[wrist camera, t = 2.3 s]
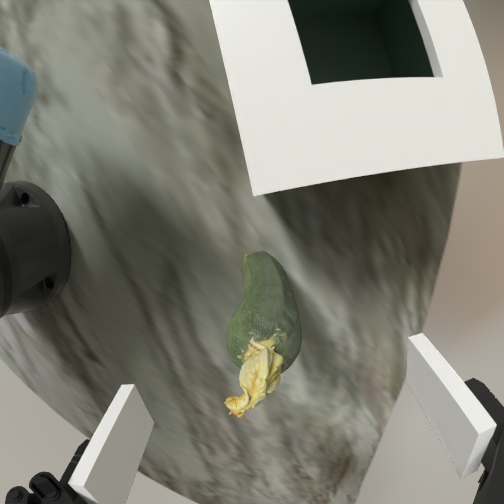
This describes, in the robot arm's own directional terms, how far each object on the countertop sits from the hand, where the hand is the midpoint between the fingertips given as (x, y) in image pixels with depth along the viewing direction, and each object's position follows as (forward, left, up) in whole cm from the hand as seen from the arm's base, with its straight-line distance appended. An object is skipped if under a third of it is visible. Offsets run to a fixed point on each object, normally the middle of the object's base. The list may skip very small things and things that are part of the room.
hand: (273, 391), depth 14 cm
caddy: (+9, +16, -18) cm, 26 cm away
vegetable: (0, 0, -19) cm, 19 cm away
